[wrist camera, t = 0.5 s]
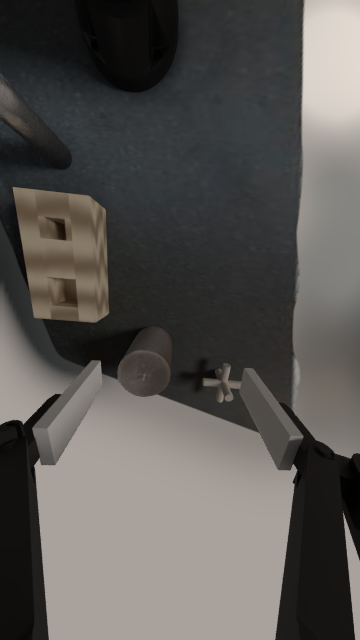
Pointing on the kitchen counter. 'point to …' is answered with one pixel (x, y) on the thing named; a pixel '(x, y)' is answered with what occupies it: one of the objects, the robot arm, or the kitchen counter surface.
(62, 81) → the kitchen counter surface
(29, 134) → the pin
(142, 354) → the pillar candle
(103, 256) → the hole block
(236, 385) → the pipe connector
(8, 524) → the robot arm
